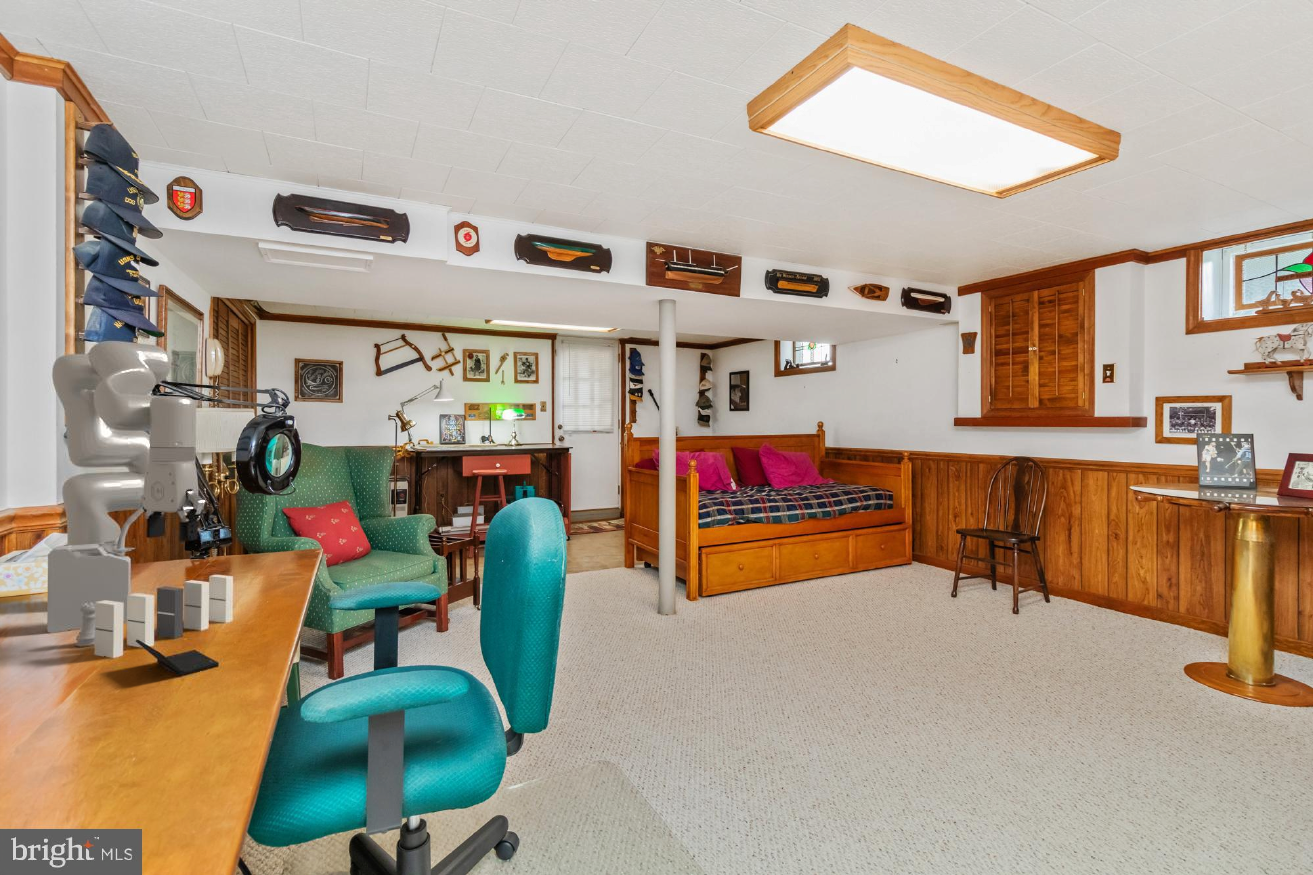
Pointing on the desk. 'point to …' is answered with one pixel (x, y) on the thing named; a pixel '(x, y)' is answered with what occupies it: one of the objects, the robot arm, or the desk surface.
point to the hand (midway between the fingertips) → (171, 538)
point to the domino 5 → (221, 598)
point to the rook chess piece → (87, 626)
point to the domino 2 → (140, 619)
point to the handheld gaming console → (182, 661)
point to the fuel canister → (87, 579)
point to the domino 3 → (170, 612)
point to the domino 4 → (196, 605)
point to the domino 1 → (109, 628)
